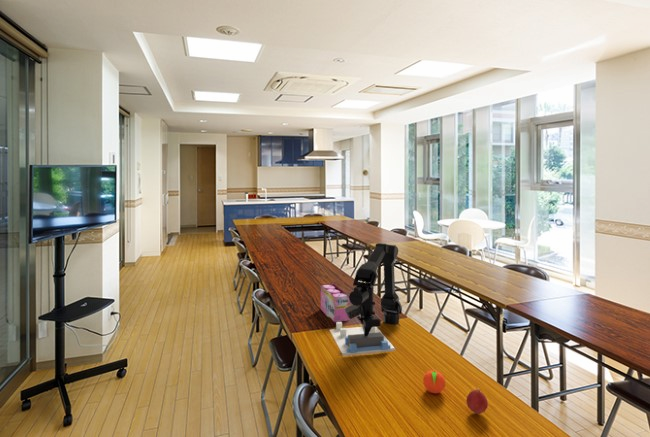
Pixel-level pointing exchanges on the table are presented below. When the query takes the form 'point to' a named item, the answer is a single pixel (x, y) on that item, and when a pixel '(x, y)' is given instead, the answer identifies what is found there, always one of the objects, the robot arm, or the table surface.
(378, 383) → the table surface
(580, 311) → the table surface
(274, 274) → the table surface
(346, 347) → the board
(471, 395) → the onion
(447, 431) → the table surface
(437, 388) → the clementine
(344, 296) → the pink drink multipack
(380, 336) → the long grey block
